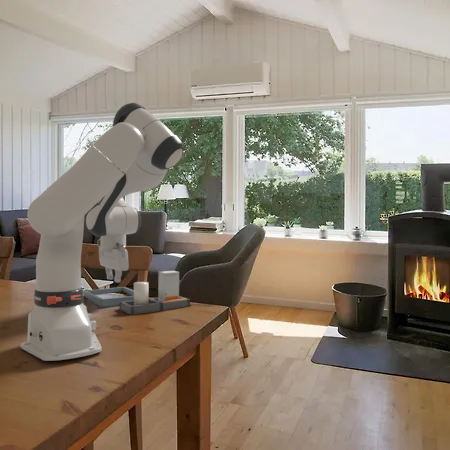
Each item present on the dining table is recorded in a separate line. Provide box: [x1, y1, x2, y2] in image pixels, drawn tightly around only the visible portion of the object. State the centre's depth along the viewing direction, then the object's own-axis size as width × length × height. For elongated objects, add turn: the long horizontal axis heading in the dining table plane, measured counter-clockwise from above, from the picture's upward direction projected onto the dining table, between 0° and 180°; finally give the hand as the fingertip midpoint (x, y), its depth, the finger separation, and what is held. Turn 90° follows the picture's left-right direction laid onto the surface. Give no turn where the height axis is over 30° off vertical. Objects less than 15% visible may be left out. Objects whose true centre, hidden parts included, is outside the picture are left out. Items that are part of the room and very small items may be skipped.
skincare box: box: [157, 270, 180, 302], centre depth 156 cm, size 6×4×12 cm
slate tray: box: [83, 286, 134, 309], centre depth 165 cm, size 20×16×3 cm
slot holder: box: [118, 295, 191, 316], centre depth 154 cm, size 9×22×3 cm, turn 124°
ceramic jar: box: [133, 281, 150, 306], centre depth 151 cm, size 5×5×9 cm
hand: (113, 280), depth 165 cm, fingers open, 6 cm apart
